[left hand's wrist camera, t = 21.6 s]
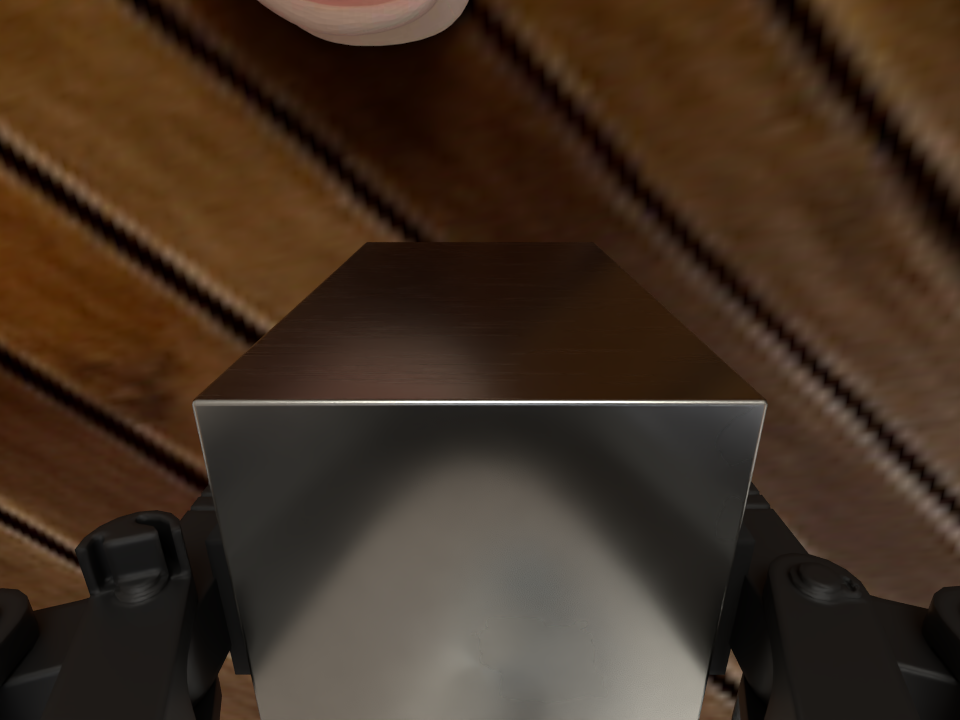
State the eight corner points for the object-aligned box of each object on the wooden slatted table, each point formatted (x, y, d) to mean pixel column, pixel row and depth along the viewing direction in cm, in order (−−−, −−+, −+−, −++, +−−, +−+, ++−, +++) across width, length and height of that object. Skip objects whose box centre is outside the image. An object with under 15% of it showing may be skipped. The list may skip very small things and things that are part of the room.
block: (365, 241, 16) (189, 401, 6) (594, 241, 16) (770, 401, 6) (384, 487, 19) (286, 844, 9) (575, 487, 19) (673, 845, 9)
